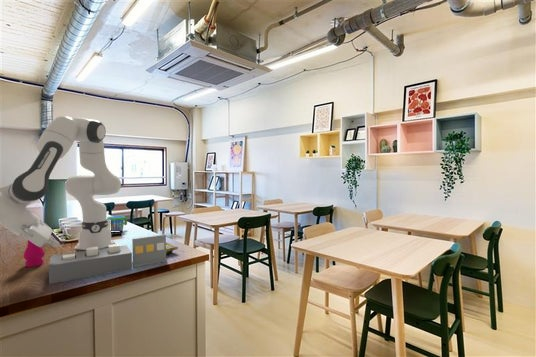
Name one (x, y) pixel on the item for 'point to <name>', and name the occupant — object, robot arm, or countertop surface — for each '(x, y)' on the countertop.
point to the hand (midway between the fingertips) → (58, 245)
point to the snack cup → (117, 222)
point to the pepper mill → (33, 255)
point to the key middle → (92, 251)
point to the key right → (113, 248)
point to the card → (149, 250)
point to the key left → (68, 256)
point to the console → (88, 264)
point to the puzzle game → (170, 248)
